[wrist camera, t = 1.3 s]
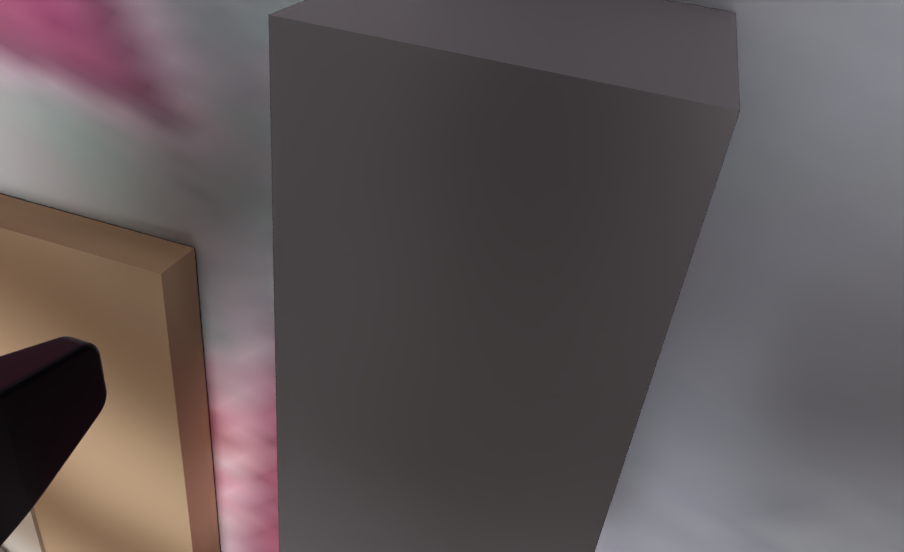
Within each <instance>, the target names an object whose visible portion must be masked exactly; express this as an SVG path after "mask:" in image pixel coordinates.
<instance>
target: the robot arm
mask: <svg viewBox="0 0 904 552" xmlns="http://www.w3.org/2000/svg"><path fill="white" fill-rule="evenodd" d="M106 397H107V389H106V384H105V378H104V372H103V367H102V361H101V356H100V352H99V350H98V348H97V347H96V345H94V344H92V343H90V342H87V341H83V340H80V339H77V338H74V337H69V336H62V337H59V338H55V339H52V340H49V341H46V342H43V343H40V344H37V345H33V346H30V347H27V348H24V349H21V350H18V351H15V352H11V353H8V354H5V355H2V356H0V546H1V545H2V544H3V543H4V542H5V541H6V539H7V538H8V537H9V536H10V535H11V534H12V532H13V531H14V530H15V529H16V528H17V527H18V525H19V524H20V523H21V522H22V521H23V519H24V518H25V517H26V516H27V514H28V513H29V512H30V511H31V510H32V508H33V507H34V506H35V504H36V503H37V502H38V500H39V499H40V498H41V496H42V495H43V494H44V492H45V491H46V489H47V488H48V486H49V485H50V484H51V482H52V481H53V479H54V478H55V477H56V475H57V474H58V472H59V471H60V469H61V468H62V467H63V465H64V464H65V462H66V461H67V460H68V458H69V457H70V455H71V454H72V452H73V451H74V450H75V448H76V447H77V445H78V444H79V443H80V441H81V440H82V438H83V437H84V435H85V434H86V433H87V431H88V430H89V428H90V427H91V426H92V424H93V423H94V421H95V420H96V418H97V417H98V416H99V414H100V413H101V411H102V409H103V407H104V405H105V402H106Z"/></svg>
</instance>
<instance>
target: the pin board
mask: <svg viewBox="0 0 904 552" xmlns="http://www.w3.org/2000/svg"><path fill="white" fill-rule="evenodd" d="M62 336H69V337H74V338H77V339H80V340H83V341H87V342H90V343H92V344H94V345H96V347H97V348H98V350H99V352H100V356H101V361H102V367H103V372H104V378H105V384H106V389H107V397H106V402H105V405H104V407H103V409H102V411H101V413H100V414H99V416H98V417H97V418H96V420H95V421H94V423H93V424H92V426H91V427H90V428H89V430H88V431H87V433H86V434H85V435H84V437H83V438H82V440H81V441H80V443H79V444H78V445H77V447H76V448H75V450H74V451H73V452H72V454H71V455H70V457H69V458H68V460H67V461H66V462H65V464H64V465H63V467H62V468H61V469H60V471H59V472H58V474H57V475H56V477H55V478H54V479H53V481H52V482H51V484H50V485H49V486H48V488H47V489H46V491H45V492H44V494H43V495H42V496H41V498H40V499H39V500H38V502H37V503H36V504H35V506H34V507H33V508H32V510H31V511H30V512H29V513H28V514H27V516H26V517H25V518H24V519H23V521H22V522H21V523H20V524H19V525H18V527H17V528H16V529H15V530H14V531H13V532H12V534H11V535H10V536H9V537H8V538H7V539H6V541H5V542H4V543H3V544H2V545H1V546H0V552H220V545H219V533H218V521H217V510H216V498H215V486H214V474H213V463H212V451H211V439H210V427H209V415H208V404H207V392H206V380H205V368H204V357H203V345H202V333H201V321H200V310H199V298H198V286H197V274H196V263H195V251H194V248H192V247H189V246H185V245H182V244H178V243H174V242H171V241H167V240H164V239H160V238H156V237H153V236H149V235H146V234H142V233H138V232H135V231H131V230H128V229H124V228H120V227H117V226H113V225H110V224H106V223H103V222H99V221H95V220H92V219H88V218H85V217H81V216H77V215H74V214H70V213H67V212H63V211H59V210H56V209H52V208H49V207H45V206H41V205H38V204H34V203H31V202H27V201H23V200H20V199H16V198H13V197H9V196H5V195H2V194H0V356H2V355H5V354H8V353H11V352H15V351H18V350H21V349H24V348H27V347H30V346H33V345H37V344H40V343H43V342H46V341H49V340H52V339H55V338H59V337H62Z"/></svg>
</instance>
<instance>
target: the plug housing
mask: <svg viewBox="0 0 904 552" xmlns="http://www.w3.org/2000/svg"><path fill="white" fill-rule="evenodd" d="M269 57H270V109H271V160H272V211H273V262H274V313H275V364H276V415H277V466H278V518H279V552H595V549H596V546H597V543H598V540H599V537H600V534H601V531H602V527H603V524H604V521H605V518H606V515H607V512H608V509H609V506H610V503H611V500H612V497H613V494H614V491H615V488H616V485H617V482H618V479H619V476H620V473H621V470H622V467H623V464H624V461H625V458H626V455H627V452H628V449H629V446H630V443H631V440H632V437H633V433H634V430H635V427H636V424H637V421H638V418H639V415H640V412H641V409H642V406H643V403H644V400H645V397H646V394H647V391H648V388H649V385H650V382H651V379H652V376H653V373H654V370H655V367H656V364H657V361H658V358H659V355H660V352H661V349H662V346H663V343H664V339H665V336H666V333H667V330H668V327H669V324H670V321H671V318H672V315H673V312H674V309H675V306H676V303H677V300H678V297H679V294H680V291H681V288H682V285H683V282H684V279H685V276H686V273H687V270H688V267H689V264H690V261H691V258H692V255H693V252H694V248H695V245H696V242H697V239H698V236H699V233H700V230H701V227H702V224H703V221H704V218H705V215H706V212H707V209H708V206H709V203H710V200H711V197H712V194H713V191H714V188H715V185H716V182H717V179H718V176H719V173H720V170H721V167H722V164H723V161H724V158H725V154H726V151H727V148H728V145H729V142H730V139H731V136H732V133H733V130H734V127H735V124H736V121H737V118H738V115H739V112H740V99H739V76H738V53H737V30H736V13H735V12H729V11H723V10H718V9H712V8H707V7H701V6H695V5H690V4H684V3H678V2H673V1H667V0H305V1H302V2H300V3H297V4H295V5H292V6H290V7H287V8H285V9H282V10H280V11H277V12H274V13H272V14H269Z"/></svg>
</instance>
